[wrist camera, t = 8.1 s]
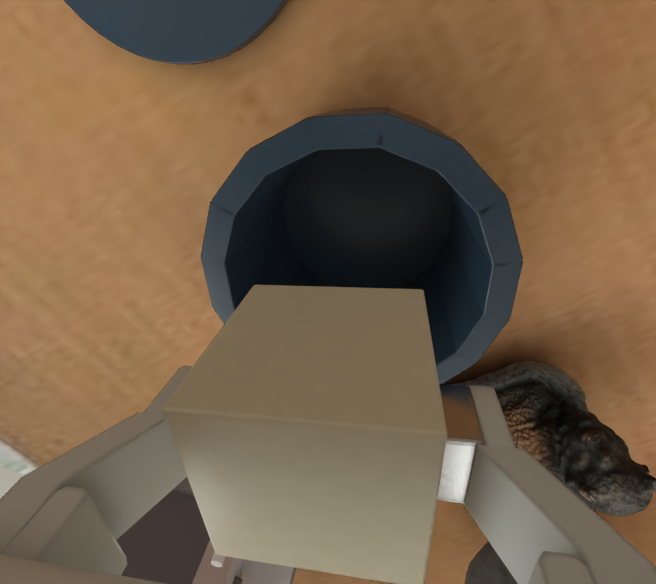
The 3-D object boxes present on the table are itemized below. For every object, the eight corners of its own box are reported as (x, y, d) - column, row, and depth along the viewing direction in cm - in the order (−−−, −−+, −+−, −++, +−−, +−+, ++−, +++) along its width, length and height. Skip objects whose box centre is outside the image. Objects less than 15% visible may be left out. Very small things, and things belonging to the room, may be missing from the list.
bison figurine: (436, 438, 30) (455, 578, 21) (391, 383, 28) (392, 513, 19) (588, 387, 25) (693, 538, 17) (548, 316, 23) (645, 447, 14)
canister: (282, 298, 26) (232, 392, 17) (259, 113, 20) (168, 123, 12) (454, 303, 24) (489, 411, 16) (482, 101, 18) (560, 103, 10)
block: (273, 404, 11) (214, 556, 8) (253, 283, 9) (159, 408, 6) (412, 416, 11) (424, 590, 7) (423, 287, 9) (448, 435, 5)
